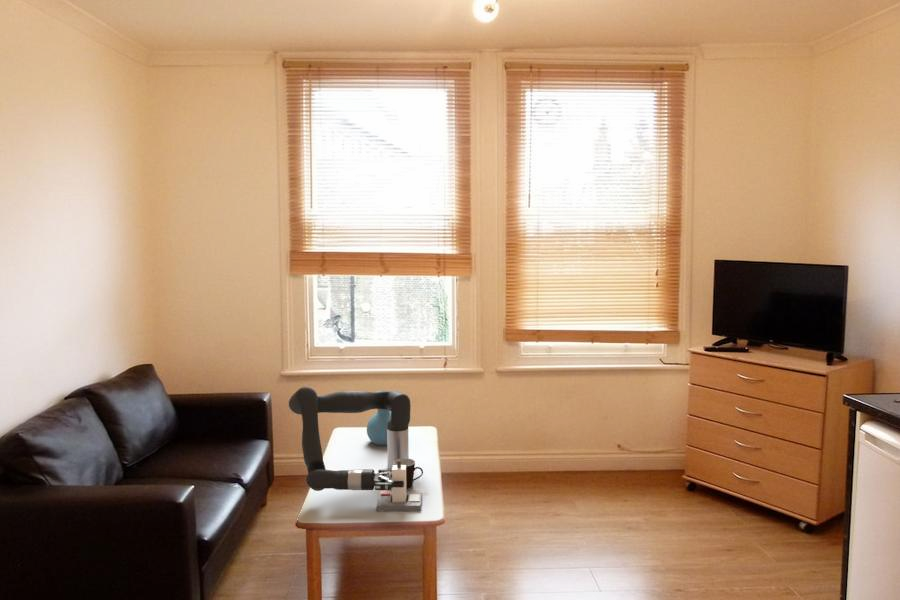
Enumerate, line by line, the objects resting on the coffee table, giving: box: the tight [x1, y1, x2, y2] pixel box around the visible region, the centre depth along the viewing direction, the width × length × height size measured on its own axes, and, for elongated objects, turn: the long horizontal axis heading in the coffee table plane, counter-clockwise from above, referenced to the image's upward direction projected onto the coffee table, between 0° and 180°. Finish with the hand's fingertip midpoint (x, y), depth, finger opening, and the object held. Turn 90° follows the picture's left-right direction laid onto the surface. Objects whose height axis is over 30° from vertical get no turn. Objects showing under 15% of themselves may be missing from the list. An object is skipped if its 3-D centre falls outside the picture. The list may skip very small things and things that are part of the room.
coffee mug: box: [394, 458, 424, 490], centre depth 245 cm, size 12×9×10 cm
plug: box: [391, 460, 407, 503], centre depth 229 cm, size 4×5×16 cm
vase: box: [366, 390, 391, 446], centre depth 297 cm, size 16×16×25 cm
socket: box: [376, 490, 422, 512], centre depth 230 cm, size 12×16×3 cm
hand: (404, 479), depth 229 cm, fingers open, 8 cm apart
